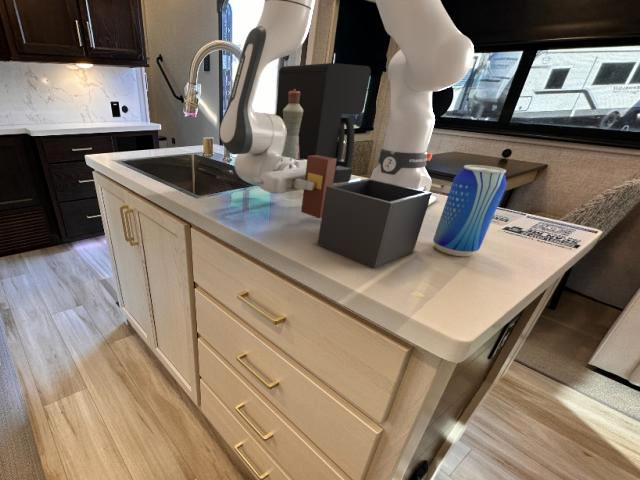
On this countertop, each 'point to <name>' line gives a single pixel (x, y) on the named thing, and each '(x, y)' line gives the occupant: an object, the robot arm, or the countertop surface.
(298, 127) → the bottle
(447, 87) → the robot arm
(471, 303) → the countertop surface
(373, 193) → the bin
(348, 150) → the coffee maker
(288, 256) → the countertop surface
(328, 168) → the packet
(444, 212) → the beer can
